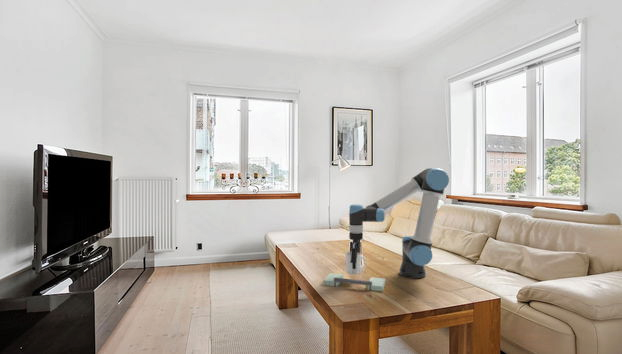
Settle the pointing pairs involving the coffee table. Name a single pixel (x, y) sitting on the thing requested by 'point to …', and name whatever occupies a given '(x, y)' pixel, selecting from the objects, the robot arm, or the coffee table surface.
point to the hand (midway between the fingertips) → (355, 271)
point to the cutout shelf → (375, 284)
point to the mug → (359, 267)
